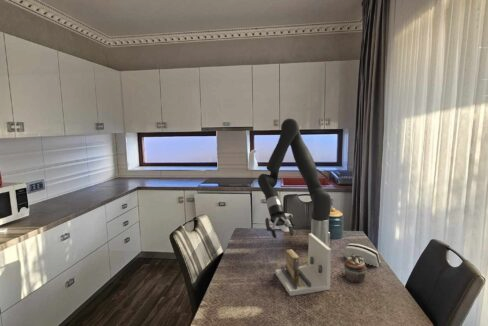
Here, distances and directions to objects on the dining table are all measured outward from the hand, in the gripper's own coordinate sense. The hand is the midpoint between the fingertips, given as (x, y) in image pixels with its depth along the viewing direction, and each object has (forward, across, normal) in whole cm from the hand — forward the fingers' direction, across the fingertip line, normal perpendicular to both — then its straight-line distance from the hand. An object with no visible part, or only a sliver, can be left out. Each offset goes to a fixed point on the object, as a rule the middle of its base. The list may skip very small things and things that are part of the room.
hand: (283, 236), depth 143 cm
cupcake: (+24, +27, 0) cm, 36 cm away
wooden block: (+18, -1, +1) cm, 18 cm away
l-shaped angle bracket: (+21, +2, +1) cm, 22 cm away
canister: (-8, +42, +32) cm, 53 cm away
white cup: (-20, +18, +43) cm, 50 cm away
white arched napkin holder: (+16, +39, +9) cm, 43 cm away
